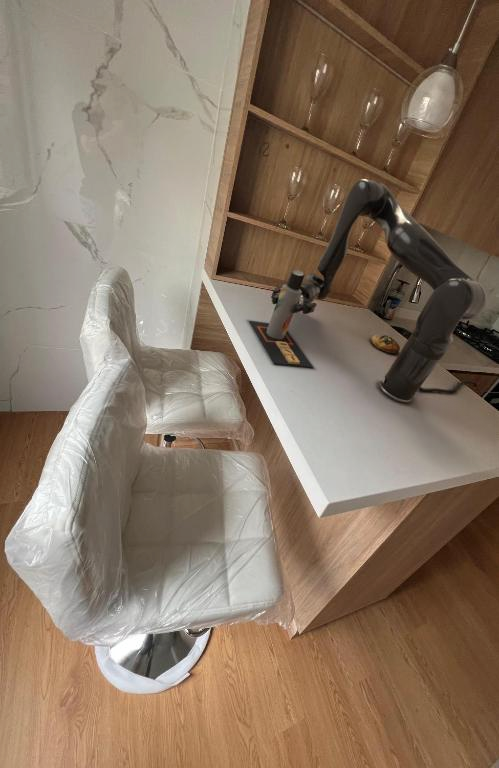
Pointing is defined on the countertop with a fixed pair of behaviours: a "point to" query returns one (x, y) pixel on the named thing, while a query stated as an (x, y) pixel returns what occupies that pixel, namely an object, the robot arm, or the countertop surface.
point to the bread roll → (385, 343)
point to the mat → (281, 347)
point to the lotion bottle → (285, 305)
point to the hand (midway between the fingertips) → (283, 305)
